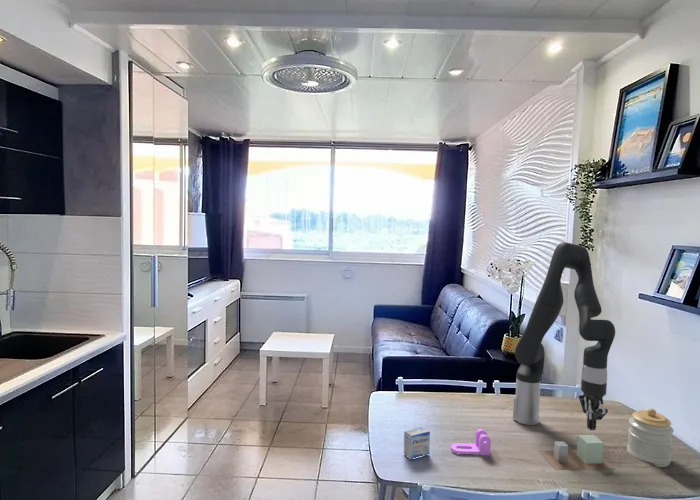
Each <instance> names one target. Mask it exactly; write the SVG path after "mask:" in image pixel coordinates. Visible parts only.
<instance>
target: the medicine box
mask: <svg viewBox="0 0 700 500" xmlns="http://www.w3.org/2000/svg"><path fill="white" fill-rule="evenodd" d="M430 443H431V432H430V431H429V430H428V429H427V428H426V427H423V426H422V427H421V426H420V427H418V428H413V429H408V430H404V432H403V455H404V454H405V455H406V456H408V457H409V458H410V459H413V458H416V457H419V456H423V455H427V454H429V455H430V446H431V445H430ZM405 455H404V456H405ZM406 456H405V457H406ZM409 458H408V459H409ZM410 459H409V460H410Z"/></svg>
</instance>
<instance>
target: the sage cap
mask: <svg viewBox="0 0 700 500" xmlns="http://www.w3.org/2000/svg"><path fill="white" fill-rule="evenodd" d="M604 443H605V442H603V441H602V440H600V439H599V438H598V437H597V436H596V435H594V434H578V435H577V443H576V450H577V456H579V457H580V458H581V459H582V460H583V461H584V462H585V463H586V464H593V463H602V461H603V459H604Z"/></svg>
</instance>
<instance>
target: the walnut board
mask: <svg viewBox="0 0 700 500" xmlns="http://www.w3.org/2000/svg"><path fill="white" fill-rule="evenodd" d="M537 452H538V453H539V454H540V455H541V456H542V457H543V458H544V459H545V461H547V462H548V464H549V465H550V466H551V467H552V469H554V471H564V470H565V471H567V470H570V471H571V470H573V471H574V470H606V469H607V470H609V469H613V470H614V469H615V468H614V466H612V465H611V464H610V463H609V462H608V461H607V460H605V459H604V458H603V461H602V463H593V464H586V463H585V462H584V461H583V460H582V459H581V458H580V457H579V456H577V449H568V462H558V461H557V460H556V459H555V458H554V449H553V450H537Z"/></svg>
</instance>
